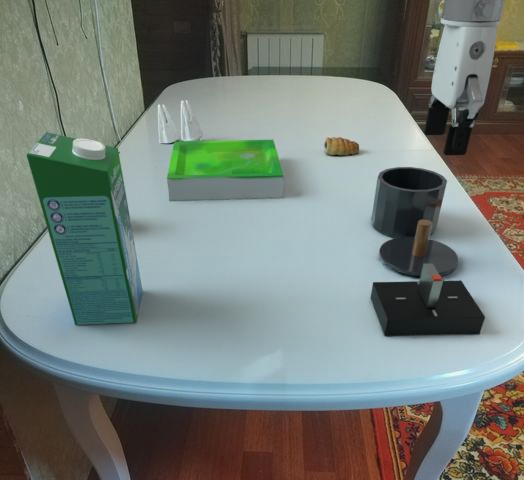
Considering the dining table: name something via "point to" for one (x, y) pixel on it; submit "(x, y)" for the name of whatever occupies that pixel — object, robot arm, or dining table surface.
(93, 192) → the milk carton
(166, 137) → the shaker set
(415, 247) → the lid
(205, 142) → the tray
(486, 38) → the robot arm
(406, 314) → the panel
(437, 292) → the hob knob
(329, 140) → the pastry
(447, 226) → the dining table surface
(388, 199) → the pot
